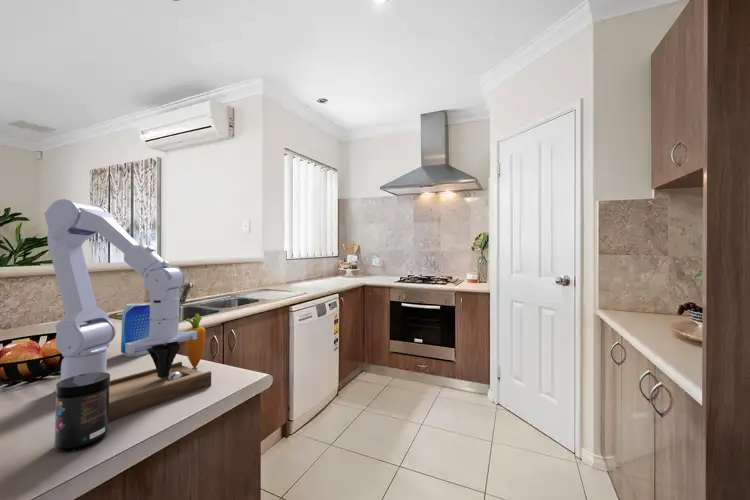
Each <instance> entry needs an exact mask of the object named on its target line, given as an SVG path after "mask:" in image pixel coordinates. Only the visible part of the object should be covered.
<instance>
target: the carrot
mask: <svg viewBox="0 0 750 500" xmlns="http://www.w3.org/2000/svg"><path fill="white" fill-rule="evenodd" d="M194 316H195V317H194ZM194 316H193V317H192V319H190V318H188V317H187V318H186V319H185V321H186V322H188V323H190V324H191V327H189V328H187V329H186V331H185V332H187V331H197V339H194V340H192V339H191V340H186V341H185V350H186V355H187V359H188V361H189V363H190V364H191V366H192V368H194V367H195V368H197V366H199V363H200V361H201V359H202V357H203V354H204V349H205V345H206V334H207V333H206V332H207V331H206V328H205V327H203V326H200V322H201V320H202V316H200V313H195V315H194Z"/></svg>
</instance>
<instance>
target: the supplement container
mask: <svg viewBox="0 0 750 500" xmlns="http://www.w3.org/2000/svg"><path fill="white" fill-rule="evenodd" d="M110 380H111V374H110V373H109V372H107V371H106V372H96V373H87V374H82V375H77V376H73V377H70V378H67V379H64V380H62V381H61V380H60V381H58V382H57V383H56V384H55V389H56V391H55V412H54V413H55V416H54V417H55V421H54V440H53V441H54V443H53V444H54V445H53V446H54V449H55V450H56V451H58V452H61V453H71V452H72V453H73V452H77V451H81V450H85V449H87V448H89V447H92V446H94V445H96V444H98V443H99V442H101V441H102V440H103V439H104V438H105V437H106V436H107V435H108V432H109V422H108V421H109V388H110Z"/></svg>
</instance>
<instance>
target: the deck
mask: <svg viewBox="0 0 750 500" xmlns="http://www.w3.org/2000/svg"><path fill="white" fill-rule="evenodd" d="M173 372H180V373H182V375H183V377H182V378H178V379H175V380H172V381H169V382H168V381H167V379H168V376H169V375H170V374H171V373H173ZM169 375H168V376H167V377H164V378H161V377H158V374H157V370H156V367H155V368H153V369H148V370H145V371H141V372H137V373H133V374H130V375H126V376H123V377H119V378H115V379H110V388H109V421H108V423H110V422H113V421H115V420H118V419H121V418H124V417H126V416H130V415H132V414H135V413H138V412H140V411H143V410H146V409H150V408H152V407H155V406H157V405H160V404H164V403H166V402H170V401H172V400H174V399H177V398H180V397H183V396H185V395H188V394H191V393H195V392H197V391H200V390H202V389H204V388H207V387H211V386H212V371H209V370H208V371H206V372H203V371H199V370H197V369H195V368H191V367H187V366H185V365H183V362H182V361H178V362H175V363H174V362H173V363H172V365H171V368H170V371H169Z"/></svg>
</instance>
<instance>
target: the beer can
mask: <svg viewBox="0 0 750 500" xmlns="http://www.w3.org/2000/svg"><path fill="white" fill-rule="evenodd" d="M149 329H150V302H133V303H132V302H131V303H128V304H127V303H126V305H125V308H124V309H123V310H122V313H121V335H120V336H121V339H120V353H122V354H123V356H124V357H132V358H133V357H139V356H144V355H148V354H149V353H148V351H147V349H144V350H140V351H135V352H134V353H126V352H125V345H126V343H130V342H134V341H138V340H141V339H145V338H149Z"/></svg>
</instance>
